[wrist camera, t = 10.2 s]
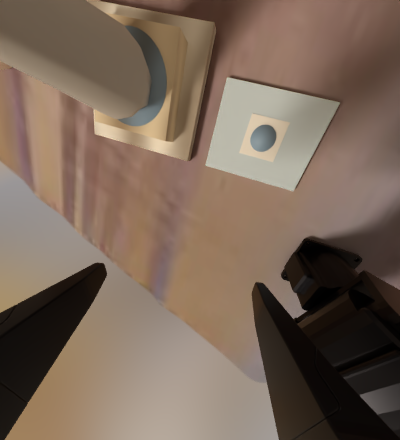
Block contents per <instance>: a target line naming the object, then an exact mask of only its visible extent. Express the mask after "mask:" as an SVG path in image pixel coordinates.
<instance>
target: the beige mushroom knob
mask: <svg viewBox="0 0 400 440" xmlns="http://www.w3.org/2000/svg"><path fill="white" fill-rule="evenodd" d="M0 61H1V62H3V63H5V64H7V65H9V66H11V67H13V68H15V69H17V70H19V71H21V72H23V73H25V74H27V75H29V76H31V77H33V78H35V79H37V80H39V81H41V82H43V83H45V84H47V85H49V86H51V87H53V88H55V89H57V90H59V91H61V92H63V93H65V94H67V95H69V96H71V97H72V98H74V99H76V100H78V101H80V102H82V103H84V104H86V105H87V106H89V107H91V108H93V109H95V110H97V111H99V112H101V113H103V114H105V115H107V116H110V117H112V118H114V119H123V118H128V117H132V116H133V115H134V114H136V113H137V112H138V111H139V110H140V109H142V108H144V107H145V106H147V105H148V101H149V95H150V89H151V83H152V80H151V76H150V73H149V69H148V66H147V64H146V61H145V58H144V55H143V52H142V50H141V47H140V46H139V44H138V43H137V41H136V40H135V39H134V38H133V36H132V35H131V34H130V32H129V31H128V30H127V29H126V27H125V26H124V25H123V24H121V23H120V22H118V21H117V20H115V19H114V18H112V17H111V16H109V15H107V14H106V13H104V12H103V11H101V10H100V9H98V8H97V7H95V6H94V5H92V4H91V3H89V2H88V1H86V0H0Z"/></svg>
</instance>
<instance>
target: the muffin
mask: <svg viewBox="0 0 400 440" xmlns="http://www.w3.org/2000/svg"><path fill="white" fill-rule="evenodd" d="M10 68H12V67H11V66H9V65H7V64H5V63H3V62H1V61H0V70H5V69H10Z"/></svg>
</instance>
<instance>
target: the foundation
mask: <svg viewBox="0 0 400 440" xmlns="http://www.w3.org/2000/svg"><path fill="white" fill-rule="evenodd" d="M88 2H89V3H91V4H92V5H94V6H95V7H97V8H98V9H100V10H101V11H103V12H104V13H106V14H107V15H109V16H111V17H112V18H114V19H115V20H117V21H118V22H120V23H121V24H123V25H124V26H125V27H126V29H127V30H128V31H129V32H130V34H131V35H132V36H133V38H134V39H135V40H136V41H137V43H138V44H139V46H140V47H141V50H142V52H143V55H144V58H145V61H146V64H147V66H148V69H149V73H150V76H151V80H152V83H151V89H150V95H149V101H148V105H147V106H145V107H144V108H142V109H140V110H139V111H138V112H137V113H136V114H134V115H133V116H132V117H128V118H123V119H114V118H112V117H110V116H107V115H105V114H103V113H101V112H99V111H97V110H95V109H94V127H95V134H97V135H100V136H103V137H107V138H110V139H114V140H117V141H121V142H124V143H127V144H131V145H134V146H138V147H141V148H144V149H148V150H151V151H155V152H158V153H161V154H165V155H168V156H172V157H175V158H178V159H182V160H185V161H190V159H191V154H192V149H193V144H194V139H195V134H196V129H197V124H198V119H199V114H200V109H201V104H202V99H203V94H204V89H205V84H206V79H207V74H208V69H209V64H210V59H211V54H212V49H213V45H214V40H215V35H216V27H215V22H210V21H204V20H199V19H194V18H188V17H183V16H177V15H172V14H167V13H161V12H156V11H150V10H145V9H140V8H134V7H129V6H123V5H118V4H113V3H107V2H102V1H96V0H88Z"/></svg>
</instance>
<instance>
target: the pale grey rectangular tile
mask: <svg viewBox="0 0 400 440" xmlns="http://www.w3.org/2000/svg"><path fill="white" fill-rule="evenodd" d="M339 104H340V102H336V101H331V100H327V99H323V98H318V97H314V96H309V95H305V94H300V93H296V92H291V91H287V90H282V89H278V88H273V87H269V86H264V85H260V84H255V83H251V82H247V81H242V80H238V79H233V78H229V77H227V80H226V84H225V88H224V92H223V96H222V100H221V104H220V108H219V113H218V117H217V121H216V125H215V129H214V133H213V137H212V141H211V145H210V149H209V153H208V157H207V161H206V165H205V166H209V167H212V168H215V169H219V170H222V171H226V172H229V173H232V174H236V175H239V176H243V177H246V178H250V179H253V180H256V181H260V182H263V183H267V184H270V185H273V186H277V187H280V188H284V189H287V190H291V191H294V189H295V187H296V185H297V184H298V182H299V180H300V178H301V176H302V174H303V172H304V170H305V168H306V167H307V165H308V163H309V161H310V159H311V157H312V155H313V153H314V151H315V150H316V148H317V146H318V144H319V142H320V140H321V138H322V136H323V134H324V133H325V131H326V129H327V127H328V125H329V123H330V121H331V119H332V117H333V116H334V114H335V112H336V110H337V108H338V106H339Z"/></svg>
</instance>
